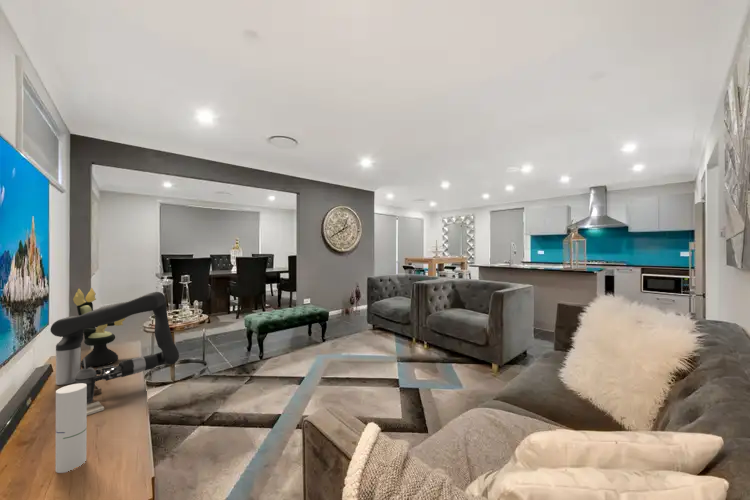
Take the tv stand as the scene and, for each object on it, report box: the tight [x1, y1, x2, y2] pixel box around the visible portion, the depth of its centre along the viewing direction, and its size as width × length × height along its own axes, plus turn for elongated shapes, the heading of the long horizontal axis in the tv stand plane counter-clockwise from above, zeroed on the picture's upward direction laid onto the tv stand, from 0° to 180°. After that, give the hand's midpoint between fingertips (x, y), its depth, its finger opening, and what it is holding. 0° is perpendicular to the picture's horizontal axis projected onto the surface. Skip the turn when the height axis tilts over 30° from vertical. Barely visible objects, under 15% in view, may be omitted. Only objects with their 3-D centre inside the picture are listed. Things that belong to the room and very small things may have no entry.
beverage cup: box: [75, 357, 98, 404], centre depth 139 cm, size 7×7×20 cm
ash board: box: [87, 400, 105, 416], centre depth 131 cm, size 9×12×1 cm
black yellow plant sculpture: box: [72, 287, 126, 368], centre depth 184 cm, size 19×22×45 cm
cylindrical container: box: [55, 383, 88, 474], centre depth 100 cm, size 7×7×25 cm
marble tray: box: [94, 382, 102, 396], centre depth 147 cm, size 9×9×4 cm
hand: (88, 377), depth 140 cm, fingers open, 8 cm apart
